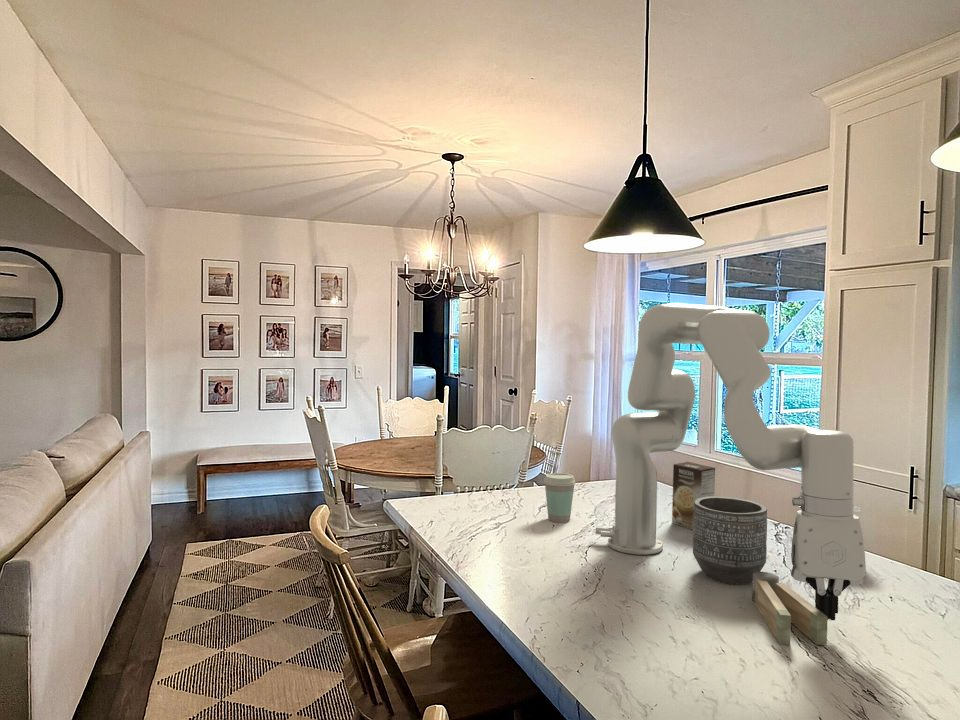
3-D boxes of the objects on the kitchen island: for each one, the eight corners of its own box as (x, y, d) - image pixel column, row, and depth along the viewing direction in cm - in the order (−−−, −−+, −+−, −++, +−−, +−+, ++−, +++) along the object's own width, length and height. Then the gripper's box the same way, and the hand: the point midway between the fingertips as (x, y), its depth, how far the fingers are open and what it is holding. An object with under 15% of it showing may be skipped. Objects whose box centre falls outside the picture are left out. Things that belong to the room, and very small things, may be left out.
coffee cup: (579, 518, 173) (580, 474, 172) (566, 526, 166) (567, 480, 165) (551, 513, 177) (552, 471, 177) (537, 520, 170) (538, 476, 170)
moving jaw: (816, 644, 101) (817, 616, 101) (775, 607, 115) (775, 583, 115) (826, 644, 101) (827, 616, 101) (783, 607, 115) (784, 583, 115)
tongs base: (778, 644, 102) (779, 613, 101) (749, 596, 120) (750, 570, 120) (807, 646, 101) (808, 615, 101) (774, 598, 120) (775, 572, 119)
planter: (760, 594, 122) (761, 517, 121) (684, 579, 129) (686, 506, 129) (770, 572, 134) (772, 502, 133) (700, 559, 141) (702, 492, 141)
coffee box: (670, 523, 169) (671, 463, 169) (685, 519, 173) (686, 461, 172) (699, 532, 161) (700, 469, 161) (715, 528, 165) (716, 467, 165)
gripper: (785, 509, 102) (784, 623, 102) (887, 513, 99) (886, 630, 99) (772, 498, 109) (771, 605, 109) (866, 502, 106) (866, 611, 106)
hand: (826, 616), depth 104 cm, fingers closed
